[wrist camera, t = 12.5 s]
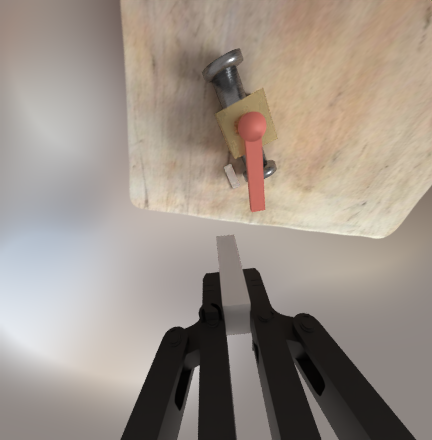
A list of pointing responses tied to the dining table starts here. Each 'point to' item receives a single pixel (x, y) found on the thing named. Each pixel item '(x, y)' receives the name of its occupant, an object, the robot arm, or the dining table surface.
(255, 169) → the lever
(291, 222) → the dining table surface
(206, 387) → the robot arm
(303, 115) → the dining table surface
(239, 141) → the valve
